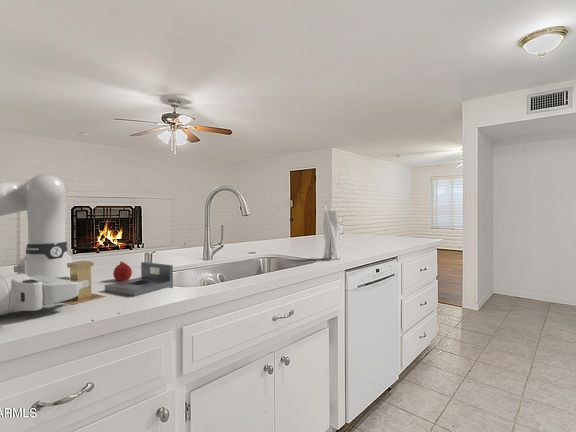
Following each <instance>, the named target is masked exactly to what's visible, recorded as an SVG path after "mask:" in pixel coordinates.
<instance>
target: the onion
mask: <svg viewBox="0 0 576 432" xmlns="http://www.w3.org/2000/svg"><path fill="white" fill-rule="evenodd" d="M132 270H133V269H132V268H131V266H129V265H128V263H126V262H124V261H123V260H121V261H119V264H118V265H116V266H115V268H114V270H113V273H112V274H113V278H114V279H115V280H116V281H117V282H121V281H126V280H130V279H131V277H132V275H133V271H132Z"/></svg>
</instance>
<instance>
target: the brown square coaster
mask: <svg viewBox="0 0 576 432" xmlns="http://www.w3.org/2000/svg"><path fill="white" fill-rule="evenodd" d="M106 297H107V296H106V295H102V294H98V293H97V294H96V293H93V292H91V298H87V299H83V300H79V301H77V300H72V299H69V300H65V301H62V302H61V303H64V304H67V305H71V306H73V305H74V306H75V305H78V304H82V303H86V302H89V301H90V302H91V301H95V300H99V299H102V298H106Z"/></svg>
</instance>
